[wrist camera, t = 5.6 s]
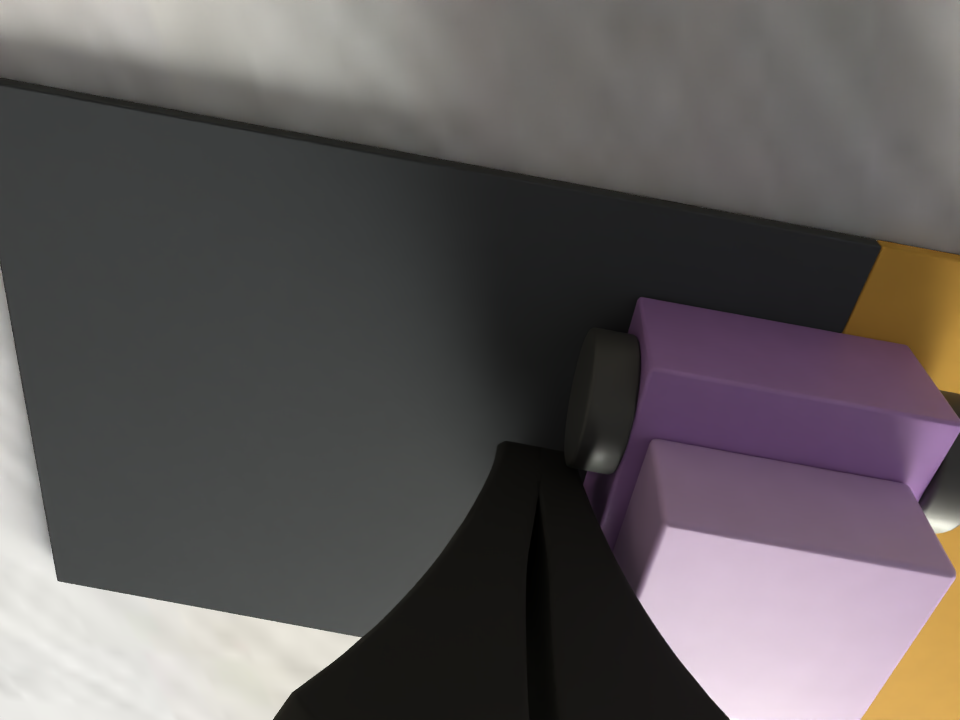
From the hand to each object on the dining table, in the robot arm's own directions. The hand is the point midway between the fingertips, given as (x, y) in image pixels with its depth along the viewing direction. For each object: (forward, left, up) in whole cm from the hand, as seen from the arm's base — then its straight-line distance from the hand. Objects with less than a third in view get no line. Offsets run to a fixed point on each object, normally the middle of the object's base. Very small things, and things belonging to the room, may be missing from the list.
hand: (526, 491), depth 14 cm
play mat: (0, 0, -1) cm, 2 cm away
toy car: (0, +3, -1) cm, 3 cm away
